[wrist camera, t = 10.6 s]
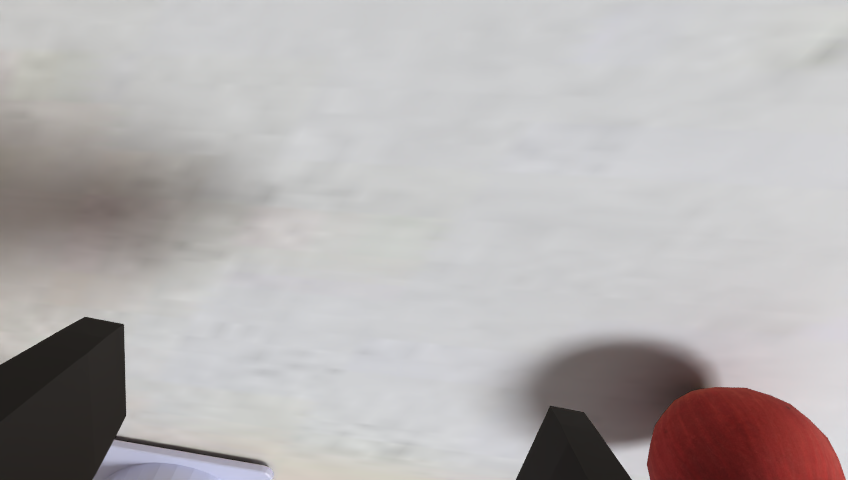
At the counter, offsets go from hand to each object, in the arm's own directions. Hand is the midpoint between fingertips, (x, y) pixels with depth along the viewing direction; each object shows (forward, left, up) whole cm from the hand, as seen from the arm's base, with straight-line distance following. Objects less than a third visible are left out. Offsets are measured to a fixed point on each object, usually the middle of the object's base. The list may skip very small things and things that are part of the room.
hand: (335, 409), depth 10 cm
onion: (-6, -14, -10) cm, 18 cm away
